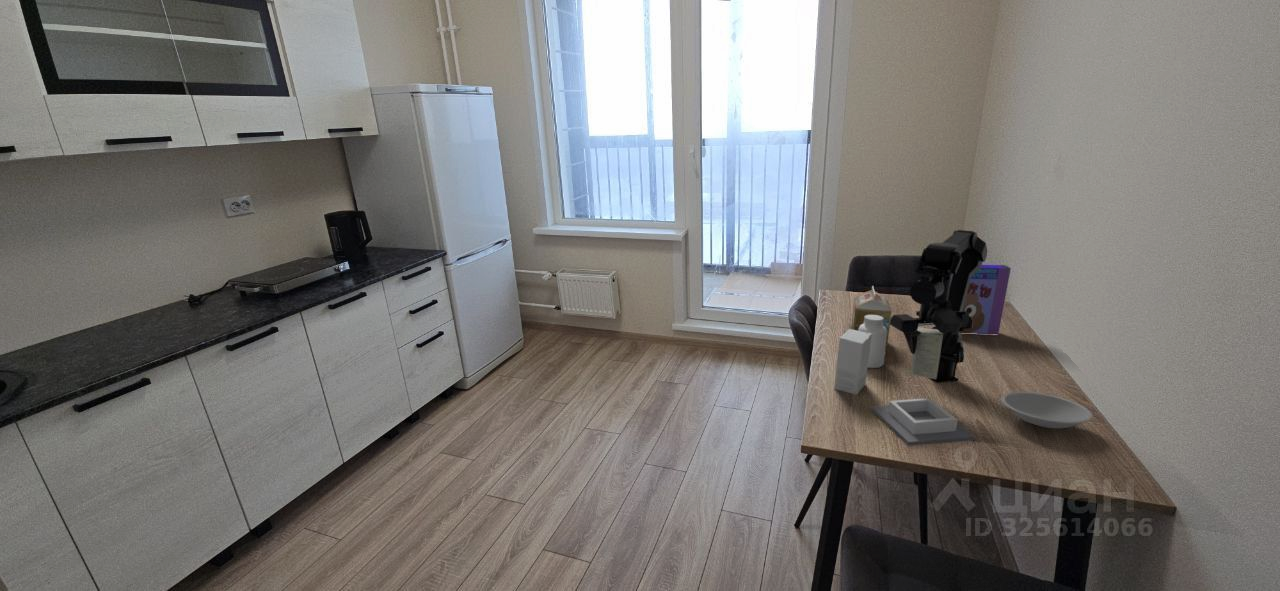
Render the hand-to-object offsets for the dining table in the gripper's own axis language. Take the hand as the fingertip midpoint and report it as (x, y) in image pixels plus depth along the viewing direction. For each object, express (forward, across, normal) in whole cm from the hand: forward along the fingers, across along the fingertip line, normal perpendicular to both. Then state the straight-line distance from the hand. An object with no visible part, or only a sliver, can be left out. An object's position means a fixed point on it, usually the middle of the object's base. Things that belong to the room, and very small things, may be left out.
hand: (926, 352), depth 135 cm
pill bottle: (+13, -2, +23) cm, 26 cm away
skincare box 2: (+6, 0, 0) cm, 6 cm away
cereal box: (+13, +44, +42) cm, 62 cm away
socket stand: (+13, -8, -12) cm, 20 cm away
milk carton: (+13, +5, +37) cm, 40 cm away
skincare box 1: (+13, -15, +9) cm, 22 cm away
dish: (+13, +20, -16) cm, 29 cm away
